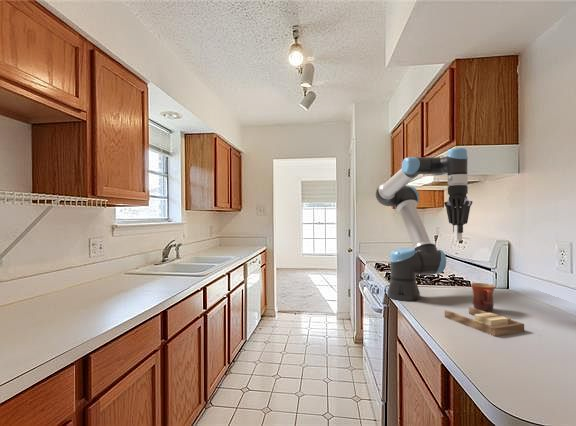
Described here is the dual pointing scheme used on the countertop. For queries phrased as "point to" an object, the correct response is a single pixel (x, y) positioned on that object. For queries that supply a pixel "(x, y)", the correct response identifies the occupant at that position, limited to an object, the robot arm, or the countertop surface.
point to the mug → (483, 296)
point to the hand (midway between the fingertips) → (458, 240)
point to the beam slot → (495, 331)
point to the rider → (492, 319)
